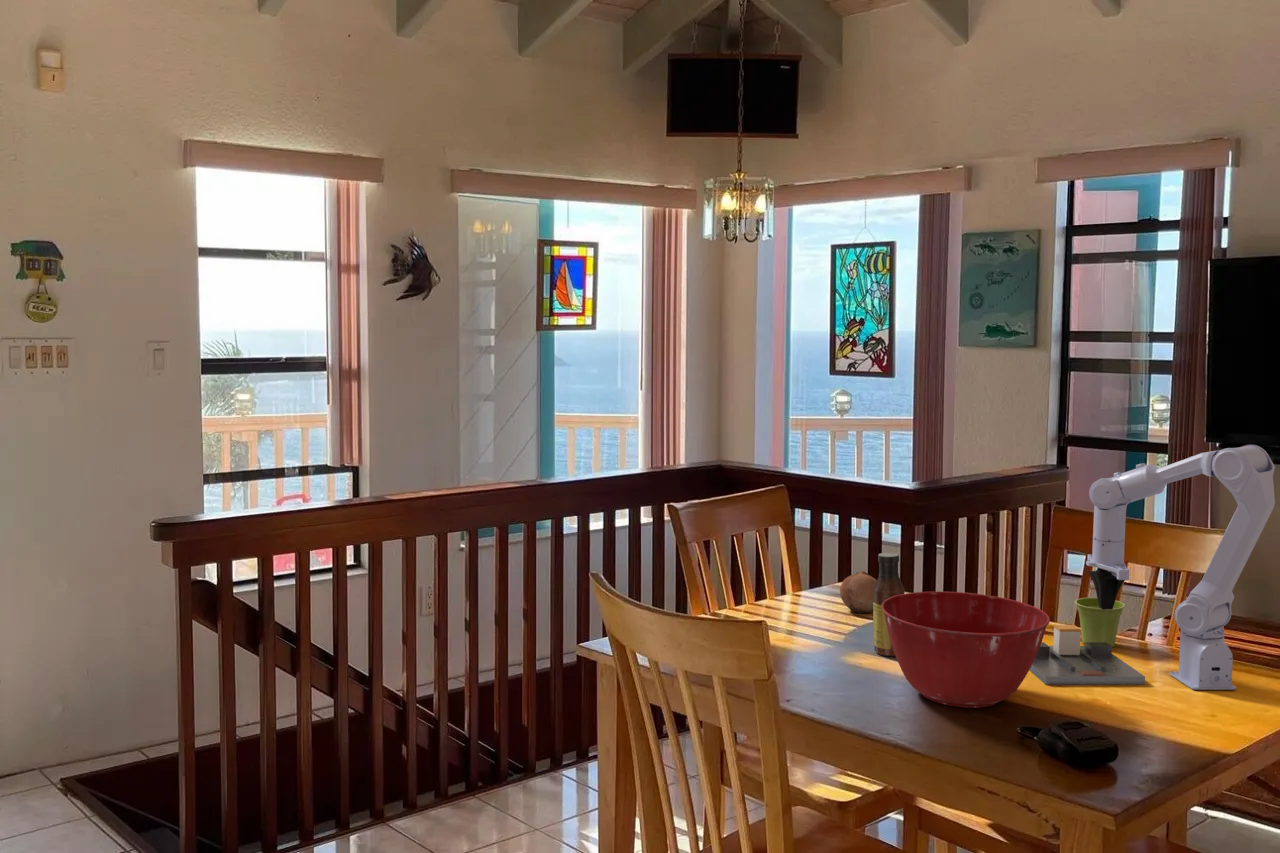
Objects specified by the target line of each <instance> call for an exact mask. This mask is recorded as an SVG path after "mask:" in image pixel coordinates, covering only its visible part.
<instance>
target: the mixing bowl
mask: <svg viewBox="0 0 1280 853" xmlns="http://www.w3.org/2000/svg"><path fill="white" fill-rule="evenodd" d="M881 607H882V610H883V612H884V616H885V621H886V625H887V629H888V634H889V637H890V641H891V644H892V647H893V650H894V653H895V656H894V657H895V658H896V660H897V663H898V665H899V667H900V669H901V672H902V674H903V675H904V677H905V679H906V680H907V682H908V683H909V684H910V685H911V687H912V688H914V690H915V691H917V692H918V693H920V694H921V695H922V697H924V698H926V699H928V700H930V701H933V702H934V703H938V704H941V705H945V706H950V707H957V708H966V709H967V708H969V709H978V708H987V706H988V707H991V706H994V705H996V703H997V704H998V703H999V702H1002V701H1003V700H1006V699H1008V698H1009V697H1011V696H1012V695H1013V694H1014V693H1015V692H1017V690H1018V689H1019V687H1020V686H1021V684H1022V683H1023V682H1024V680H1025V678H1027V674H1028V673H1029V671H1030V668H1031V666H1032V664H1033V662H1034V660H1035V657H1036V655H1037V653H1038V650H1039V648H1040V645H1041V642H1043V639H1044V637H1045V636H1044V635H1045V633H1046V630H1047V626H1048V625H1049V624H1050V621H1051V620H1050V619H1051V618H1050V616H1049V615H1048V614H1047V613H1046V612H1045V611H1044V610H1042V609H1040V608H1038V607H1035V606H1033V605H1031V604H1029V603H1025V602H1021V601H1019V600H1018V601H1017V600H1015V599H1010V598H1006V597H999V596H996V595H989V594H983V593H982V594H981V593H980V594H979V593H973V592H964V591H963V592H960V591H920V592H919V591H918V592H909V593H908V592H907V593H905V594H901V595H896V596H893V597H890V598H888V599H886V600H885V601H884V602H883V603H882V606H881Z"/></svg>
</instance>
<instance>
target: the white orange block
mask: <svg viewBox="0 0 1280 853" xmlns="http://www.w3.org/2000/svg"><path fill="white" fill-rule="evenodd" d="M1052 646H1053V650H1054V651H1055V652H1057V653H1058V654H1059V655H1080V646H1081V627H1078V626H1077V625H1075V624H1054V625H1053V645H1052Z"/></svg>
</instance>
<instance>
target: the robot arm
mask: <svg viewBox="0 0 1280 853" xmlns="http://www.w3.org/2000/svg"><path fill="white" fill-rule="evenodd" d="M1275 470H1276V466H1275V464H1274V463H1273V460H1272V459H1271V457H1270V455H1269V454H1268V453H1267V451H1266V450H1265V449H1264V448H1263V447H1261V446H1259V445H1256V444H1246V445H1242V446H1240V447H1239V446H1238V447H1227V448H1223V449H1218V450H1213V451H1212V450H1211V451H1206V452H1200V453H1198V454H1195V455H1192V456H1189V457H1187V458H1185V459H1182V460H1179V461H1176V462H1173V463H1170V464H1167V465H1165V466H1162V467H1158V466H1156V465H1154V464H1151V463H1150V464H1146V463H1144V462H1143V463H1139V464H1135V468H1133V469H1131V470H1128V471H1125V472H1122V471H1117V472H1114V473H1113V476H1112V477H1105V478H1104V477H1103V478H1102V477H1101V478H1099V479H1098V480H1095V481H1094V482H1092V484H1091V485H1090V487H1089V491H1088V497H1089V499H1090V502H1091V503H1092V504H1093V507H1094V508H1093V526H1092V527H1093V530H1092V531H1093V533H1092V551H1091V552H1092V554H1088V553H1087V560H1086V561H1085V565H1086V566H1087V567H1093V568H1097V569H1096V570H1089V571H1088V575H1089V577H1090V578H1091V580H1092V584H1094V589H1095V594H1096V598H1097V599H1098V604H1099V608H1101V609H1113V606H1114V603H1115V600H1116V601H1117V596H1118V593H1119V592H1120V589H1121V588H1122V585H1123V584H1124V582H1125V581H1130V569H1128V568H1127V565H1126V563H1125V542H1126V541H1125V540H1126V520H1127V519H1126V518H1127V517H1126V516H1127V507H1128V505H1129V504H1130V503H1134V502H1136V501H1139V500H1143V499H1146V498H1150V497H1153V496H1157V495H1159V494H1162V493H1163V492H1164V490H1165V488H1166V486H1167V485H1168V484H1171V483H1173V482H1177V481H1181V480H1182V481H1183V480H1184V479H1188V478H1192V477H1195V476H1200V475H1202V474H1203V475H1205V476H1206V477H1210V478H1213V477H1216V479H1218V480H1219V482H1220V483H1221V484H1222V485H1223V486H1224V487H1225V488H1226V489H1227V490H1228V491H1229V492H1230V493H1231V495H1232V496H1233V498H1234V501H1236V504H1237V507H1236V510H1235V511H1234V513H1233V515H1232V517H1231V520H1230V521H1229V523H1228V525H1227V527H1226V529H1225V532H1224V534H1223V536H1222V537H1221V540H1220V542H1219V544H1218V546H1217V548H1216V549H1215V552H1214V554H1213V556H1212V558H1211V559H1210V562H1209V563H1208V566H1207V568H1206V570H1205V573H1204V575H1203V577H1202V578H1201V580H1200V581H1199V583H1198V584H1197V585H1195V587H1194V588H1193V589H1192V590H1191V591H1190V593H1189V595H1188V596H1187V598H1186V599H1184V600H1183V601H1182V602H1181V603H1179V604H1178V606H1176V608H1175V612H1174V619H1175V623H1176V625H1177V627H1178V628H1179V629H1180V635H1179V654H1178V655H1179V656H1178V657H1179V658H1178V671H1168V675H1170V676H1172V677H1173V678H1174V679H1176V680H1178V682H1181V683H1182V684H1183V685H1185V686H1186V687H1188V688H1189V689H1192V690H1197V691H1199V690H1200V691H1202V690H1203V691H1204V690H1205V691H1207V690H1212V691H1213V690H1214V691H1215V690H1216V691H1217V690H1218V691H1220V690H1223V691H1225V690H1227V691H1228V690H1229V691H1231V690H1232V691H1233V690H1235V691H1236V690H1237V686H1235V684H1232V682H1233V681H1232V680H1233V679H1232V678H1233V664H1234V663H1233V662H1234V661H1233V658H1234V656H1233V655H1234V654H1233V652H1232V651H1231V649H1230V647H1229V646H1228V645H1227V644H1226V642H1225V628H1224V626H1226V625H1227V624H1228V623H1229V622H1230V620H1231V617H1232V603H1233V601H1234V599H1235V595H1234V593H1233V590H1234V588H1235V586H1236V583H1237V582H1238V580H1239V578H1240V576H1241V573H1242V572H1243V570H1244V567H1245V566H1246V564H1247V562H1248V560H1249V558H1250V556H1251V554H1252V552H1253V551H1254V550H1253V549H1254V548H1255V546H1256V545H1257V541H1259V538H1260V536H1261V534H1262V532H1263V530H1264V528H1265V526H1266V524H1267V522H1268V520H1269V518H1270V516H1271V514H1272V512H1273V511H1274V508H1275V505H1276V498H1275V488H1274V487H1275V486H1274V477H1273V476H1274V473H1275Z"/></svg>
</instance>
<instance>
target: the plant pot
mask: <svg viewBox="0 0 1280 853" xmlns="http://www.w3.org/2000/svg"><path fill="white" fill-rule="evenodd" d="M1074 603H1075V605H1076V608H1077V612H1078V616H1079V623H1080V624H1079V625H1080V629H1081V632H1080V636H1081V643H1082V644H1085V642H1106V643H1107V644H1109V645H1110V646H1112V648H1113V647H1115V644H1116V641H1117V640H1116V638H1117V634H1118V628H1119V624H1120V619H1121V615H1122V614H1123V610H1124V609H1125V608H1126V604H1125V603H1123V602H1121V601H1119V600H1117V599H1116V600H1115V603H1114V606H1113V609H1101V608H1099V604H1098V599H1097V597H1081V598H1078V599H1075V601H1074Z"/></svg>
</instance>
